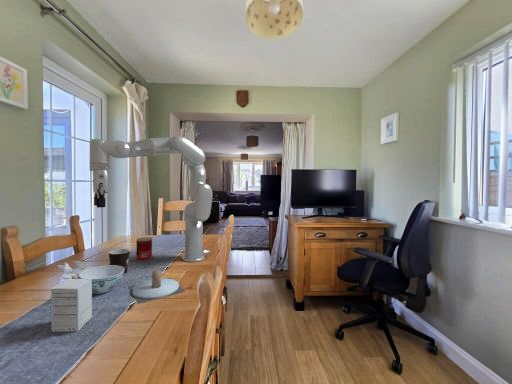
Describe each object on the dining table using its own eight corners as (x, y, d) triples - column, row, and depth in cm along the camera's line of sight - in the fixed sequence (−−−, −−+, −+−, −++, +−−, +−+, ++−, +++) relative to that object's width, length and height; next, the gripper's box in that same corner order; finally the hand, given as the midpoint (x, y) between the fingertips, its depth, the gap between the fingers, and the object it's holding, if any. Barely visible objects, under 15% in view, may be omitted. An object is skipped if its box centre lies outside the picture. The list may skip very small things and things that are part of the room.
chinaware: (90, 304, 87) (90, 282, 86) (71, 293, 95) (71, 273, 94) (132, 289, 99) (132, 270, 99) (111, 280, 107) (111, 262, 107)
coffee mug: (120, 277, 111) (120, 254, 111) (104, 275, 113) (104, 253, 113) (137, 268, 123) (138, 248, 123) (122, 266, 125) (122, 246, 124)
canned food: (154, 257, 142) (155, 237, 141) (144, 261, 134) (144, 240, 134) (144, 255, 144) (144, 236, 144) (133, 259, 137) (133, 239, 136)
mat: (170, 279, 111) (170, 277, 111) (185, 292, 97) (185, 291, 97) (127, 288, 100) (128, 286, 100) (138, 305, 87) (138, 303, 87)
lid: (170, 277, 111) (170, 262, 110) (185, 291, 97) (185, 273, 97) (128, 286, 100) (128, 269, 100) (138, 303, 87) (138, 283, 87)
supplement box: (67, 318, 78) (67, 278, 77) (92, 317, 78) (92, 278, 78) (50, 332, 70) (49, 288, 70) (78, 332, 71) (78, 288, 70)
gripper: (112, 167, 106) (112, 207, 107) (106, 168, 120) (106, 204, 120) (91, 166, 102) (91, 208, 102) (87, 167, 115) (87, 204, 116)
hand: (99, 206), depth 111 cm, fingers open, 9 cm apart
